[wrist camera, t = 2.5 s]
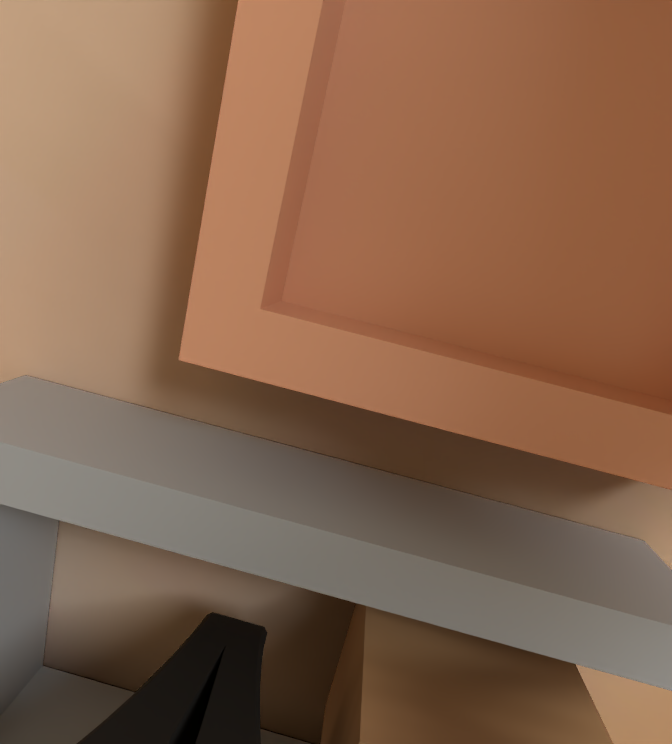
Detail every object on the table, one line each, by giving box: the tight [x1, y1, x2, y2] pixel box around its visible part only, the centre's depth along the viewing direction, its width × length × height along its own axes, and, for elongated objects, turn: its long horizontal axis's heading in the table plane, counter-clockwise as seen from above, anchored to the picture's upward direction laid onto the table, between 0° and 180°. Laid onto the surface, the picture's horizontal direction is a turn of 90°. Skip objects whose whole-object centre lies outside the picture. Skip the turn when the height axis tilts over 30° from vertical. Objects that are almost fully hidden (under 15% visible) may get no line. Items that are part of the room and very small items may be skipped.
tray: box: [179, 0, 672, 490], centre depth 8 cm, size 10×10×2 cm
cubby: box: [0, 375, 672, 744], centre depth 11 cm, size 15×9×3 cm, turn 77°
